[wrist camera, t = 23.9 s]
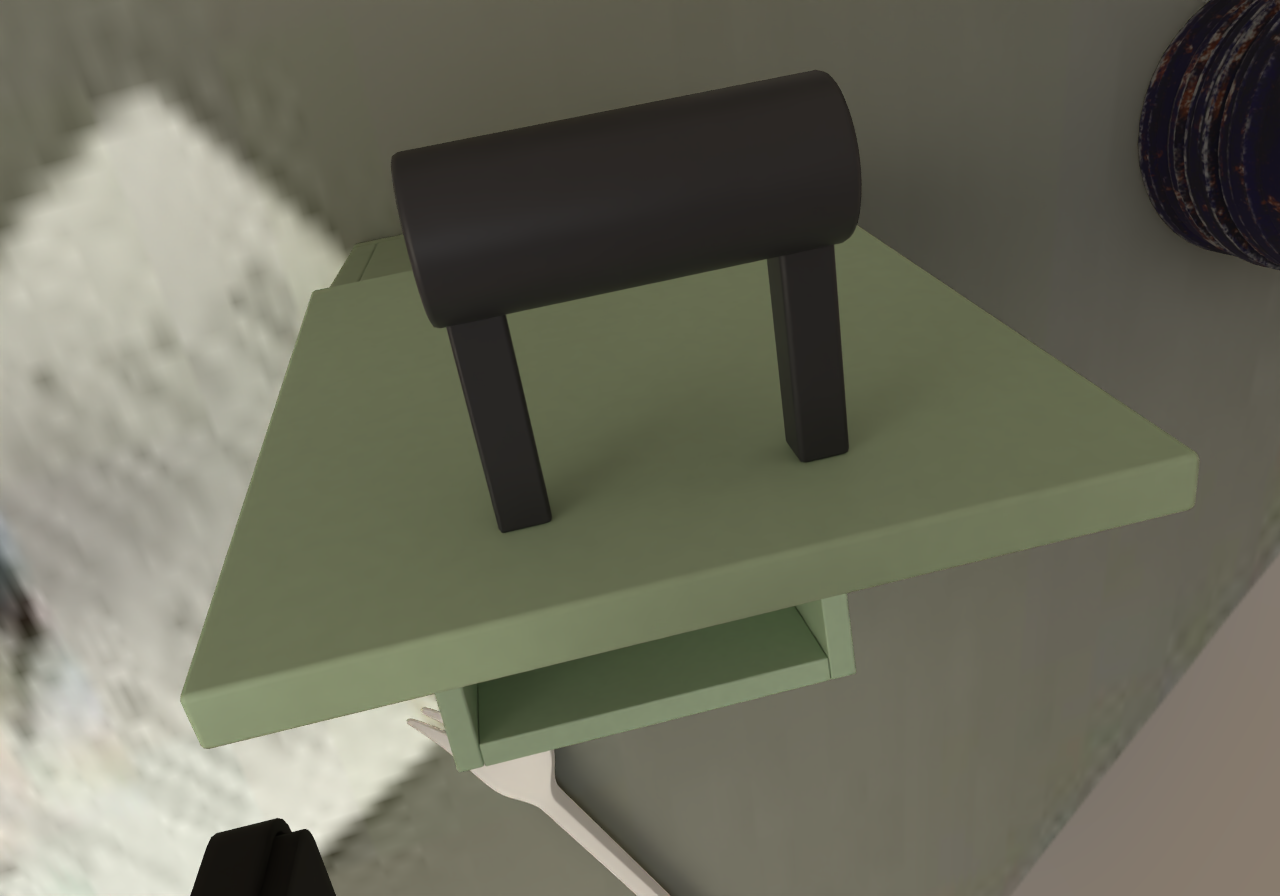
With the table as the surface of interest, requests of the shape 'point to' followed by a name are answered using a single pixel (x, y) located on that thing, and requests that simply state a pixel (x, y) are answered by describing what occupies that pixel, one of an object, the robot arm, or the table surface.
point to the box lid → (636, 417)
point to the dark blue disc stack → (1218, 131)
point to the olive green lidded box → (629, 654)
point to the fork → (552, 806)
